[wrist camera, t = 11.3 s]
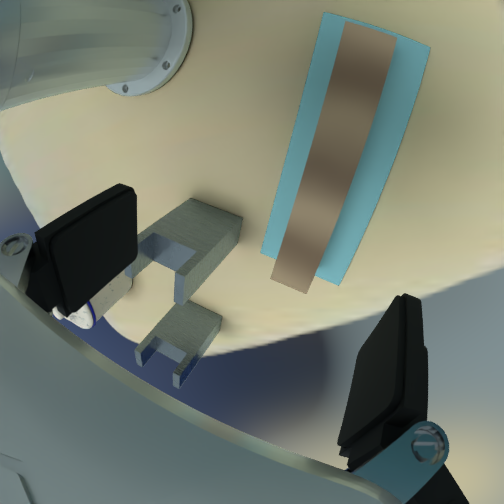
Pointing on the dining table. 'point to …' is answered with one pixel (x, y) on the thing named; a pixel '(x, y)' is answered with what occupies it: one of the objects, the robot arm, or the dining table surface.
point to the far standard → (181, 338)
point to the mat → (374, 153)
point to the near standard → (188, 244)
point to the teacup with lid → (99, 302)
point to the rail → (334, 151)
